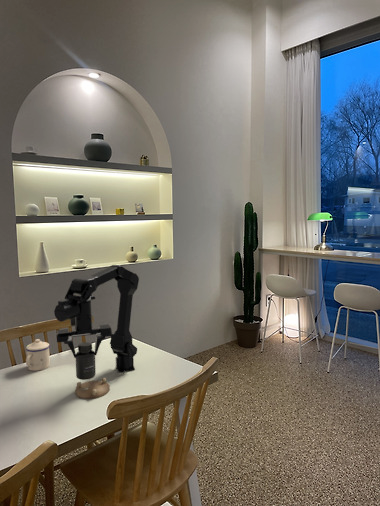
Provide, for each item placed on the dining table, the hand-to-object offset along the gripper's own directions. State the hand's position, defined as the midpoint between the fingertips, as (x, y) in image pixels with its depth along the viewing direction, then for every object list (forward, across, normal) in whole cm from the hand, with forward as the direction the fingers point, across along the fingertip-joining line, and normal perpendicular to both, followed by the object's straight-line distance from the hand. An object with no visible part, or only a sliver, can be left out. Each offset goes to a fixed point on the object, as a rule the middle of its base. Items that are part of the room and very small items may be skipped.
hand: (85, 356), depth 141 cm
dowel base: (+13, -2, +2) cm, 13 cm away
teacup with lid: (+13, +18, -27) cm, 35 cm away
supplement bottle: (+8, 0, 0) cm, 8 cm away
